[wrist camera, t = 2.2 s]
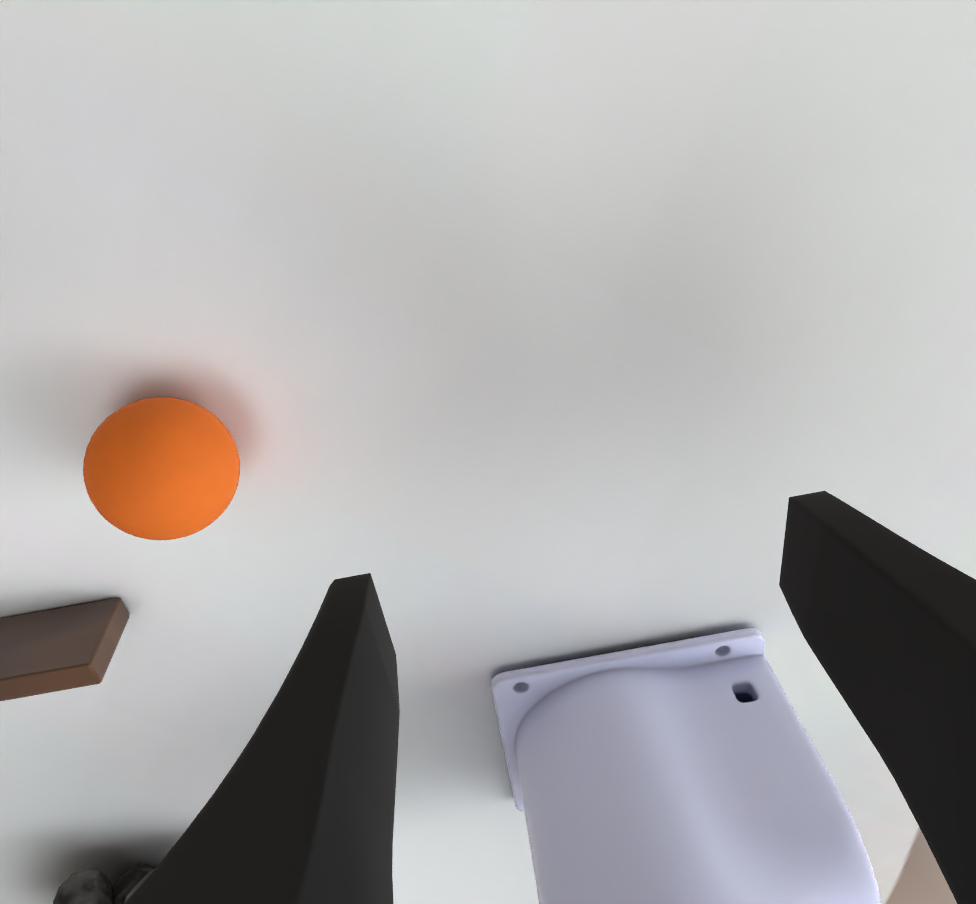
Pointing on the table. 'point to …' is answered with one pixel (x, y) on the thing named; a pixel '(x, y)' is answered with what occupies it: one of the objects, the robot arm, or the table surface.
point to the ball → (161, 468)
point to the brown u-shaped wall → (59, 647)
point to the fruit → (100, 887)
